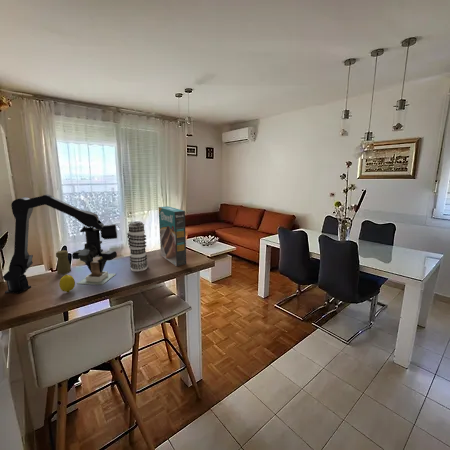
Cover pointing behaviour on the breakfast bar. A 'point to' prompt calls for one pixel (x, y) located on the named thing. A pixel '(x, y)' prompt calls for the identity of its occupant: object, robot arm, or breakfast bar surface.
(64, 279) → the lemon
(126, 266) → the breakfast bar surface
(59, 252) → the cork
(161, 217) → the cake mix box
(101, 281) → the socket
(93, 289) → the breakfast bar surface
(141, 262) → the decorative candle
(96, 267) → the peg
